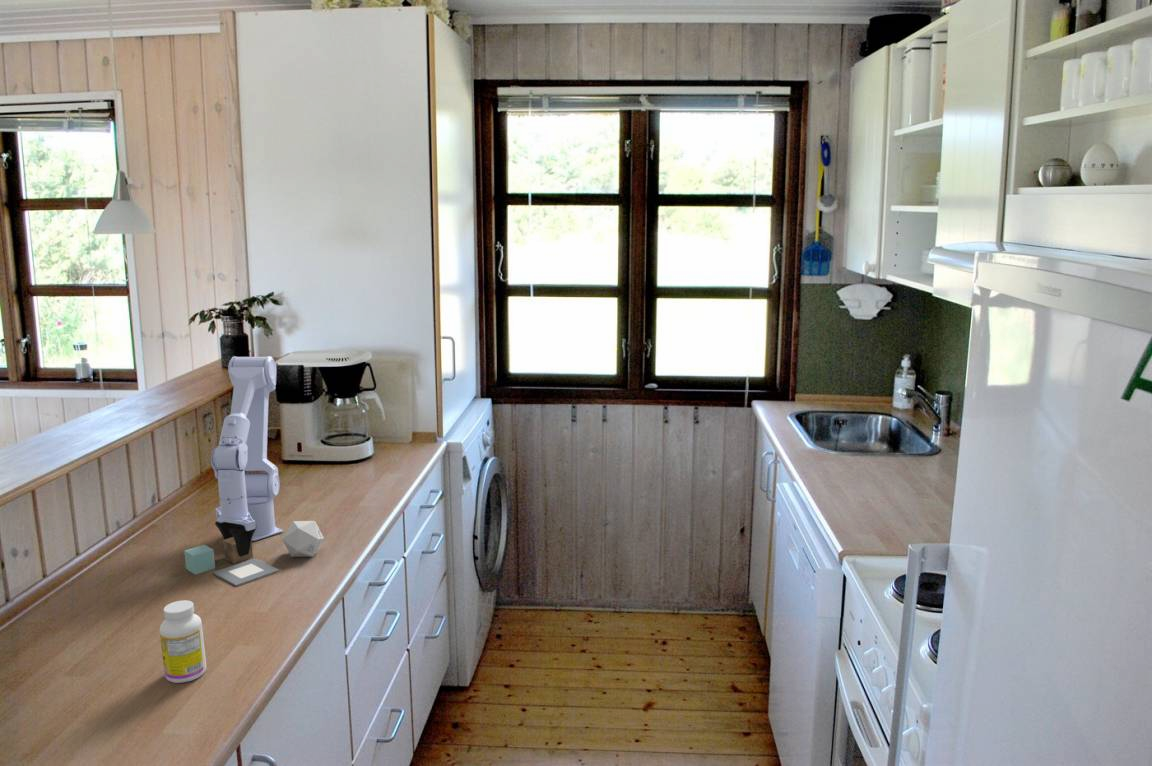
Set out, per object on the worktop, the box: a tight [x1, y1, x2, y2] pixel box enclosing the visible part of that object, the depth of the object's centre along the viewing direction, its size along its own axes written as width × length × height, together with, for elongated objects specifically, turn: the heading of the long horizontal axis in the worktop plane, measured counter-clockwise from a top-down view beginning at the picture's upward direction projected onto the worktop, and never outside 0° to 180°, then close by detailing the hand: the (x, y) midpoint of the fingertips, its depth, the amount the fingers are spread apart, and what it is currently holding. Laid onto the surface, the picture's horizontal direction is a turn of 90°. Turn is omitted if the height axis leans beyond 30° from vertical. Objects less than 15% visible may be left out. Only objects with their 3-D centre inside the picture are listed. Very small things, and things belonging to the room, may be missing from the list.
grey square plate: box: [213, 557, 280, 587], centre depth 189 cm, size 10×10×1 cm
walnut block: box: [222, 537, 254, 565], centre depth 196 cm, size 4×4×4 cm
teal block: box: [183, 544, 216, 575], centre depth 191 cm, size 4×4×4 cm
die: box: [282, 520, 325, 558], centre depth 198 cm, size 8×9×10 cm
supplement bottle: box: [159, 599, 207, 684], centre depth 147 cm, size 7×7×13 cm
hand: (238, 552), depth 197 cm, fingers closed on walnut block, 4 cm apart
